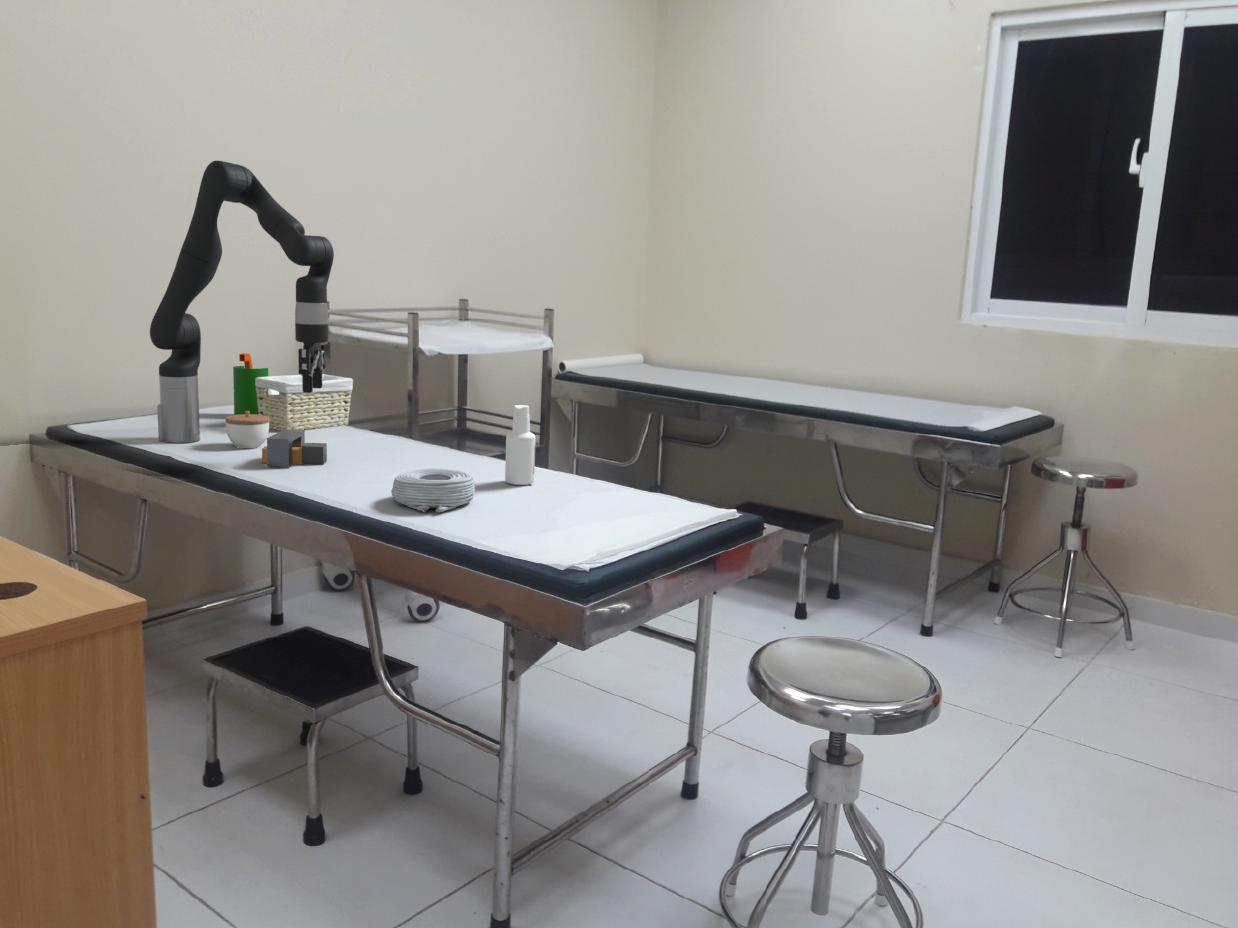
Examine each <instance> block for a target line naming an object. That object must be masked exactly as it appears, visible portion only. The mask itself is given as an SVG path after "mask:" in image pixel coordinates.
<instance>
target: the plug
mask: <svg viewBox="0 0 1238 928" xmlns="http://www.w3.org/2000/svg"><path fill="white" fill-rule="evenodd" d="M327 445H328V443H327V442H325V443H324V442H305V444H304V445H303V446H302V447H292V450H293V465H294V464H295V465H296V464H298V465H299V464H301V465H303V466H304V465H307V466H308V465H309V466H311V465H313V466H324V465H325V464H326V463H327V461H328V449H327V448H328V447H327ZM261 461H262V462H261V463H262V464H268V460H267V445H264V447H262V448H261Z"/></svg>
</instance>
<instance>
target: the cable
mask: <svg viewBox="0 0 1238 928" xmlns="http://www.w3.org/2000/svg"><path fill="white" fill-rule="evenodd" d="M475 489H476V488H475V479H474V477H473V476H472V475H471V474H469V473H467V472H464V471H461V470H457V469H456V470H455V469H448V468H419V469H413V470H408V471H405V472H402V473H399V474H397V475H396V476H395V477H394V478H393V483H392V489H391V491H390V492H391V496H392V497H393V498H394V500H395V501H396V502H397V503H399V504H402V505H405V506H406V507H408V508H411V509H416V510H417V511H422V513H426V512H427V510H429V509H430V508H436V509H435V512H436V513H443V512H447V511H448V510H453V509H456V508H457V507H460V506H462V505H466V504H467V503H470V502H471V501H472V500H473V499H474V497H475V491H476V490H475Z"/></svg>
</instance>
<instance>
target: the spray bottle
mask: <svg viewBox="0 0 1238 928" xmlns="http://www.w3.org/2000/svg"><path fill="white" fill-rule="evenodd" d="M513 407H514V408H513V409H514V410H513V411H514V412H513V414H512V428H511V429H512V430H511V431H510V432H508V433H507V434H506V435H505V436H506V438H505V468H504V469H505V471H504V473H505V474H504V475H505V476H504V481H505V483H507V484H509V485H515V486H525V485H526V486H527V485H531V484H533V483H534V482H535V471H536V469H535V462H536V435H535V434H534V433H533V432H531V424H530V423H531V422H530V419H531V416H530V406H529V405H526V404H515V405H514V406H513Z"/></svg>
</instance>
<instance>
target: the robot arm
mask: <svg viewBox="0 0 1238 928" xmlns="http://www.w3.org/2000/svg"><path fill="white" fill-rule="evenodd" d="M196 197H197V198H196V202H195V206H194V209H193V215H192V217H191V221H190V224H189V226H188V229H187V233H186V235H185V238H184V239H183V243H182V245H181V248H180V251H179V254H178V257H177V260H176V263H175V267H174V269H173V272H172V275H171V277H170V281H169V283H168V286H167V289H166V290H165V292H164V294H163V297H162V299H161V301H160V303H159V305H158V307H157V309H156V311H155V313H154V315H153V317H152V320H151V323H150V327H149V338H150V340H151V342H152V344H153V346H154V347H155V348H157V349H160V350H166V351H167V350H170V351H171V354H170V356H169V357H168V358H167V359H166V360H164V361H163V362H161V363H160V364H159V366H158V375H159V376H158V379H159V381H158V382H159V396H160V397H159V401H160V403H158V404H157V407H156V409H157V429H158V431H157V433H158V441H159V442H163V443H164V442H165V443H175V444H176V443H177V444H178V443H179V444H180V443H181V444H182V443H193V442H199V441H200V440H201V435H200V434H201V430H200V429H201V428H200V426H201V425H200V404H199V403H200V401H199V399H200V398H199V379H198V378H199V374H198V370H199V367H200V364H201V351H202V349H201V348H202V346H201V344H202V342H201V341H202V335H201V328H200V324H199V322H198V320H197V318H196V317H195V316H194V315H192V314H191V313H187V311H188V308H189V306H190V305H191V303H192V302H193V301H194V300H195V299H196V297H198V296H199V295H200V294H201V293H202V292H203V291H204V289H206V288H207V286H208V285H209V284H210V283H211V282H212V281H213V279H214V277H215V275H216V273H217V271H218V268H219V265H220V262H221V260H222V259H221V258H222V256H223V245H222V241H221V237H220V232H219V228H218V218H219V214H220V210H221V208H222V205H223V203H224V202H228V203H234V204H238V203H239V204H241V205H244V206H246V207H247V208H249V209H250V210H252V211H253V212H254V213H255V214H256V216H257V220H258V223H259V225H260V226H261V228H262V229H263V230H264V231H265V232H266V233H267V234H268V235H269V236H270V237H271V238H273V239H274V240H275V241H276V242H277V243H278V244H279V245H280V248H281V249H282V250H283V252H284V254H285V256H286V257H287V259H288V260H290V262H292V263H294V264H295V265H297V266H301V267H309V269H308V272H307V273H306V274H305V275H304V276H299V277H298V278H297V279H296V282H295V308H294V327H295V328H294V332H295V333H294V334H295V335H294V337H295V338H294V339H295V341H296V342H297V343H303V346H302V348H299V349H298V351H297V352H298V375H301V376H303V377H302V387H303V392H308V393H310V392H312V391H313V388H322V374H324V371H325V370H326V346H325V344H324V343H328V342H329V309H328V308H329V307H328V282H329V279H330V275H331V271H332V267H333V263H334V257H335V254H334V247H333V244H332V243H331V241H330V240H329V239H328V238H327V237H325V236H322V235H321V236H320V235H308V234H307V235H306V234H305V233H306V231H305V227H304V226H303V224H302V223H301V222H300V221H299V220H298V219H297V218H296V217H294V216H293V215H292V214H291V213H290V212H289V211H287V210H286V209H285V208H284V207H283V206H281V204H279V203H278V202H277V200H276V199H274V197H273V196H272V195H271V194H270V193H269V192H268V190H267V189H266V187H264V186H263V184H262V183H261V181H259V178H257V177H256V175H255V174H254V173H253V172H252V170H250V169H249V168H248V167H246V166H244V165H241V164H238V163H232V162H229V161H223V160H212V161H211V162H210V163H208V165H207V166H206V167H205V170H204V171H203V174H202V177H201V180H200V187H199V190H198V194H197V196H196Z"/></svg>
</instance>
